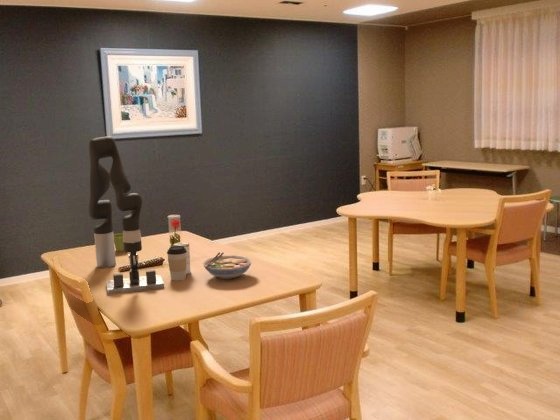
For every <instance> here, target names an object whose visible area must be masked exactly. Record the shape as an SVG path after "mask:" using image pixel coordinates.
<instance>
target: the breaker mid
mask: <svg viewBox="0 0 560 420" xmlns="http://www.w3.org/2000/svg"><path fill="white" fill-rule="evenodd" d="M137 273H138V279H134V280H133V278H132V271H131V268H130V269H129V271H128V274H129V278H130V283H134V282H140V281H139V277H140V271H139V269H138V271H137Z"/></svg>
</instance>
